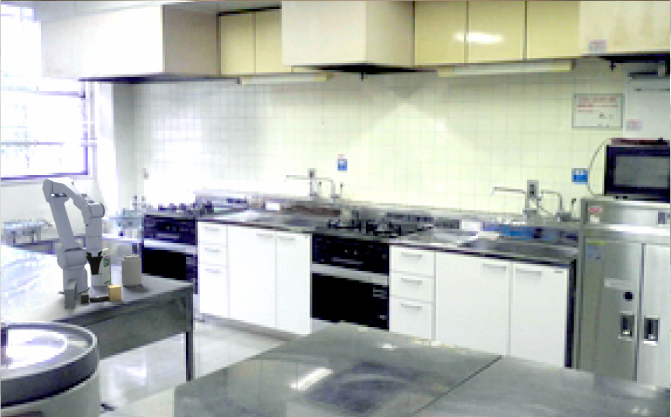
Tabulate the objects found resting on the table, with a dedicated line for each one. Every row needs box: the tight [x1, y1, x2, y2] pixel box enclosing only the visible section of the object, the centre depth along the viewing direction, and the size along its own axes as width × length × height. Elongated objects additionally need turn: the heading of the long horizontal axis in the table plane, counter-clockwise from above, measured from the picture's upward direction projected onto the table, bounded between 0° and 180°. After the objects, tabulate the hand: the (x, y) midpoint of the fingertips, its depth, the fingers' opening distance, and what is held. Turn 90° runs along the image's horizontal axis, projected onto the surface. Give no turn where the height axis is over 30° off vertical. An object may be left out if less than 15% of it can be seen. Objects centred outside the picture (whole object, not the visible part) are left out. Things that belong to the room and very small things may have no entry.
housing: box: [63, 279, 78, 309], centre depth 237 cm, size 3×17×7 cm, turn 18°
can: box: [121, 253, 143, 288], centre depth 264 cm, size 8×8×12 cm
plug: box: [80, 284, 123, 305], centre depth 239 cm, size 14×4×5 cm, turn 120°
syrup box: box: [89, 247, 112, 287], centre depth 264 cm, size 6×6×14 cm
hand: (94, 272), depth 243 cm, fingers open, 7 cm apart
